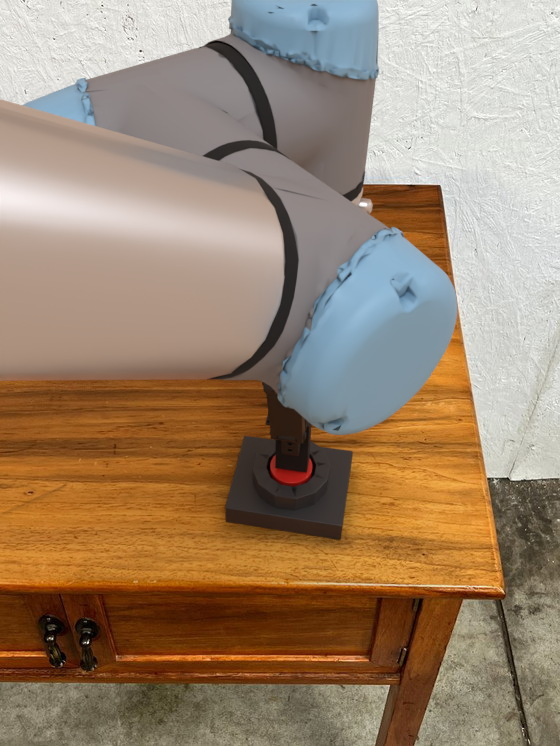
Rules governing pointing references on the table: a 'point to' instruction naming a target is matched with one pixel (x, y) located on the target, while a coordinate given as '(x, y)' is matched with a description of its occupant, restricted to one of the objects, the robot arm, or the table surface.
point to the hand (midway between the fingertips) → (292, 463)
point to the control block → (289, 491)
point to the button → (290, 475)
